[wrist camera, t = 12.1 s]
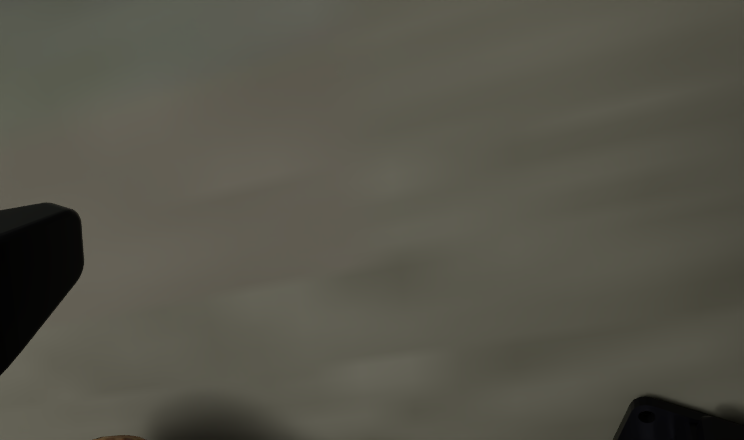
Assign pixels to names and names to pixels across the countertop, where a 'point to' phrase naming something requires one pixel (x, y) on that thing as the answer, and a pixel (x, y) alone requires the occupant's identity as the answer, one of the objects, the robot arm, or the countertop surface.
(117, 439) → the natural sponge
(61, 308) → the countertop surface
